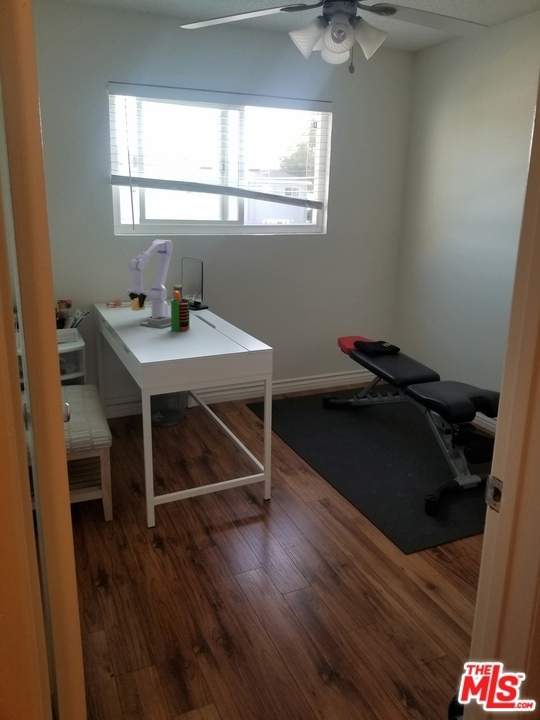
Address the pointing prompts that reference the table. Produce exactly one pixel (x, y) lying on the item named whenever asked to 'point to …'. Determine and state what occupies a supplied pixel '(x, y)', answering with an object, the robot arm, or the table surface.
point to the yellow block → (136, 305)
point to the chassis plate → (158, 322)
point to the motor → (179, 313)
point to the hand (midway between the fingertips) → (138, 307)
